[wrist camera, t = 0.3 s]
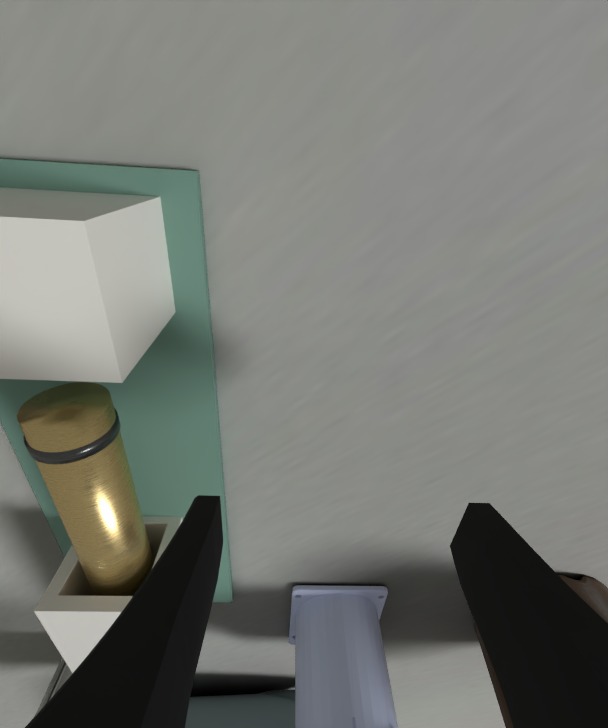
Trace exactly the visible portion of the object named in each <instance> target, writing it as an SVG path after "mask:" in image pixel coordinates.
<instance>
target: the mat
mask: <svg viewBox="0 0 608 728" xmlns="http://www.w3.org/2000/svg"><path fill="white" fill-rule="evenodd" d="M0 187H2V188H19V189H36V190H54V191H71V192H88V193H105V194H123V195H140V196H157V197H160V198H161V206H162V213H163V221H164V229H165V236H166V244H167V251H168V259H169V266H170V274H171V281H172V289H173V296H174V304H175V314H174V315H173V316H172V318H171V319H170V320H169V322H168V323H167V324H166V326H165V327H164V328H163V330H162V331H161V332H160V334H159V335H158V336H157V338H156V339H155V340H154V341H153V343H152V344H151V345H150V347H149V348H148V349H147V351H146V352H145V353H144V355H143V356H142V357H141V359H140V360H139V361H138V363H137V364H136V365H135V367H134V368H133V369H132V371H131V372H130V373H129V375H128V376H127V377H126V379H125V380H124V381H123V383H110V382H90V383H96V384H100V385H102V386H104V387H106V388H107V389H108V390H109V392H110V395H111V398H112V402H113V406H114V408H115V409H116V410H117V413H118V416H119V420H120V425H121V427H120V433H121V437H122V440H123V444H124V448H125V452H126V456H127V460H128V463H129V467H130V471H131V475H132V479H133V482H134V486H135V490H136V494H137V498H138V502H139V505H140V509H141V513H142V516H160V517H182V520H183V519H184V517H185V515H186V513H187V512H188V510H189V508H190V506H191V504H192V502H193V500H194V498H195V497H197V496H198V495H206V496H220V501H221V515H222V528H223V548H222V555H221V562H220V568H219V575H218V581H217V585H216V589H215V594H214V598H213V602H226V603H232V599H233V587H232V575H231V563H230V550H229V538H228V525H227V513H226V500H225V488H224V475H223V463H222V451H221V438H220V426H219V413H218V401H217V388H216V376H215V364H214V351H213V339H212V326H211V314H210V301H209V289H208V277H207V264H206V252H205V239H204V227H203V214H202V202H201V189H200V177H199V170H185V169H168V168H152V167H136V166H120V165H103V164H87V163H71V162H55V161H38V160H22V159H6V158H0ZM76 382H81V381H52V380H23V379H0V421H1V423H2V425H3V428H4V430H5V432H6V434H7V436H8V438H9V440H10V442H11V445H12V447H13V449H14V451H15V453H16V455H17V457H18V459H19V462H20V464H21V466H22V468H23V470H24V472H25V474H26V476H27V479H28V481H29V483H30V485H31V487H32V489H33V491H34V493H35V496H36V498H37V500H38V502H39V504H40V506H41V508H42V510H43V513H44V515H45V517H46V519H47V521H48V523H49V525H50V527H51V530H52V532H53V534H54V536H55V538H56V540H57V542H58V544H59V547H60V549H61V551H62V553H63V555H64V557H65V556H66V554H67V552H68V551H69V549H70V547H71V545H72V543H71V541H70V539H69V536H68V534H67V532H66V530H65V527H64V525H63V523H62V520H61V518H60V516H59V514H58V511H57V509H56V507H55V504H54V502H53V500H52V498H51V495H50V493H49V491H48V489H47V486H46V484H45V482H44V479H43V477H42V475H41V473H40V470H39V468H38V466H37V464H36V461H35V460H34V459H33V458H32V457H31V456H30V455H29V453H28V450H27V448H26V446H25V443H24V439H23V437H24V434H23V432H22V429H21V427H20V425H19V423H18V420H17V413H18V411H19V409H20V407H21V406H22V405H23V404H24V403H25V402H26V401H27V400H29V399H30V398H32V397H33V396H35V395H37V394H38V393H40V392H42V391H45V390H47V389H50V388H53V387H56V386H59V385H64V384H69V383H76Z"/></svg>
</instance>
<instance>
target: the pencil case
mask: <svg viewBox="0 0 608 728" xmlns="http://www.w3.org/2000/svg"><path fill="white" fill-rule="evenodd" d="M185 728H295V690H273V691H267V692H262V693H258V694H245V695H225V696H202V697H190V700H189V706H188V712H187V718H186V724H185Z"/></svg>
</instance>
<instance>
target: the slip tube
mask: <svg viewBox="0 0 608 728" xmlns="http://www.w3.org/2000/svg"><path fill="white" fill-rule="evenodd" d="M17 420H18V423H19V425H20V427H21V429H22V432H23V434H24V437H23V439H24V443H25V446H26V448H27V450H28V453H29V455H30V456H31V457H32V458H33V459H34V460H35V461H36V464H37V466H38V468H39V470H40V473H41V475H42V477H43V479H44V482H45V484H46V486H47V489H48V491H49V493H50V495H51V498H52V500H53V502H54V504H55V507H56V509H57V511H58V514H59V516H60V518H61V520H62V523H63V525H64V527H65V530H66V532H67V534H68V536H69V539H70V541H71V543H72V545H73V548H74V550H75V552H76V555H77V557H78V559H79V561H80V564H81V566H82V568H83V570H84V573H85V575H86V577H87V580H88V582H89V584H90V586H91V589H92V591H93V593H94V595H95V596H134V594H135V593H136V591H137V590H138V589H139V587H140V586H141V584H142V583H143V582H144V580H145V579H146V577H147V576H148V575H149V573H150V572H151V570H152V568H153V565H154V559H153V555H152V551H151V547H150V544H149V540H148V536H147V532H146V528H145V524H144V521H143V517H142V513H141V509H140V505H139V502H138V498H137V494H136V490H135V486H134V482H133V479H132V475H131V471H130V467H129V463H128V460H127V456H126V452H125V448H124V444H123V440H122V437H121V433H120V427H121V425H120V420H119V416H118V413H117V410H116V409H115V408H114V406H113V402H112V398H111V395H110V392H109V390H108V389H107V388H106V387H104V386H102V385H100V384H96V383H90V382H76V383H69V384H64V385H59V386H56V387H53V388H50V389H47V390H45V391H42V392H40V393H38V394H37V395H35V396H33V397H32V398H30V399H29V400H27V401H26V402H25V403H24V404H23V405H22V406H21V407H20V409H19V411H18V413H17Z"/></svg>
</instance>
